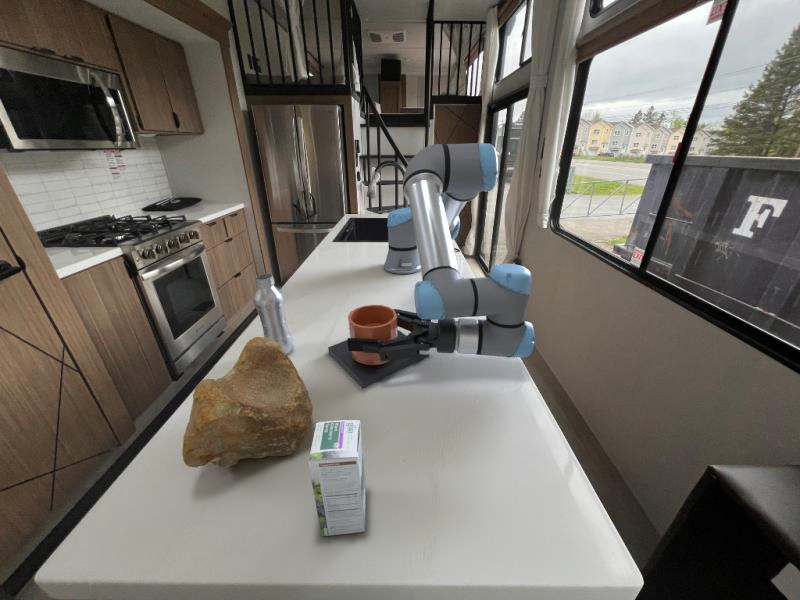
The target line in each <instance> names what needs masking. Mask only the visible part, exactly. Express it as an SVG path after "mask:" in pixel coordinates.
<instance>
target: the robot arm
mask: <svg viewBox="0 0 800 600" xmlns="http://www.w3.org/2000/svg"><path fill="white" fill-rule="evenodd" d="M405 168H406V169H405V171H404V174H403V178H402V189H403V196H404V198H405V200H406V201H407V202H408V203H409V206H408V207H407V206H406V207H401V208H397V209H393V210H392V211H390V212H389V213H388V215H387V224H386V225H387V241H388V243H387V245H388V249H387V250H388V251H387V254H386V258H385V261H384V270H385V271H387V272H388V273H391V274H396V275H409V274H415V273H417V272H420V274H421V281H417V282H416V283H415V285H414V293H413V295H414V296H413V298H414V307H415V312H413V311H408V310H403V309H399V308H394V309H393V308H392V309H393V310H395V312H396V314H397V326H398V328H400V329H404V330H406V331H408V332H409V333H408V334H407V335H406V336H404V337H400V338H396V339H392V340H388V341H384V342H382V341H381V340H377V339H359V338H350V337H348V338H347V339H346V340H347V342H348V351H359V352H365V353H377V354H379V355H380V360H381V361H390V360H398V359H406V358H414V357H423V358H424V359H428V358H430V349H436V352H437V353H439V354H454V353H455V351H456V353H457V354H458V355H459V354H461V355H476V356H488V357H489V356H490V357H499V358H501V357H502V358H509V359H510V358H527V357H529V356H531V355H532V353H533V351H534V348H535V337H536V336H535V329H534V325H533V324H532V323H531V322H529V321H526V313H527V308H528V303H529V299H530V295H531V288H532V287H531V286H532V272H531V271H530V270H529V269H528V268H526V267H525V266H522V265H519V264H515V263H499V264H496V265H494V266H493V267H492V268H491V270H490V273H489V276H488V277H487V276H486V277H471V278H470V277H469V278H461V275H460V270H459V266H458V262H457V257H456V253H455V251H456V252H461V250H460V249H458V247H457V248H456V247H454V245H453V240H455V239H456V238H457V237H458V234H459V231H460V226H461V225H460V224H461V221H460V213H461V212H462V210H463V209H464V207H465V206H466V204H467V202H470V201H472V200H474V199H475V198H477V196H478V195H479V194H480V193H481V192H485V193H487V192H491V191H493V190H494V189H495V187H496V184H497V181H498V171H499V161H498V153H497V149H496V148H495V146H494V145H493V144H491V143H483V142H476V143H474V142H472V143H435V144H431V145H428V146H425V147H424V148H423V149H420V150H419V151H418V152H417V153H416V154H415V155H414V156H413V157H412V158H411V159H410V161H409V162H408V164H407V166H406V167H405ZM474 317H475V318H474ZM477 317H485V318H486V319H478V318H477ZM456 319H457V320H456ZM433 320H434V321H437V322H433ZM386 354H387V355H386Z"/></svg>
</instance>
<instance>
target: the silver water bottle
mask: <svg viewBox="0 0 800 600" xmlns="http://www.w3.org/2000/svg"><path fill="white" fill-rule="evenodd" d="M254 280H255V285H256V288H257V289H256V292H255V293H254V295H253V300H252V301H253V305H254V307H255V309H256V312H257V314H258V316H259V321H260V323H261V326H262V331H263V332H262V333H263V337H264V338H269V339H270V340H272V341H274V342H277V343H278V344H279V345H280V346H281V347H282V349H283V350H284V352H285V353H286V355H287V354H289V353H290V352H291V351H292V349H293V348H294V338H293V337H292V334H291V332H290V329H289V326H288V323H287V319H286V311H285V297H284V294H283V292H282V291H281V290H280V289H279V288H278V287H277V286H276V285H275V284H276V281H275V277H274V275H273V274H272V273H263V274H260V275H257V276H255V279H254Z"/></svg>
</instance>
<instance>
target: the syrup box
mask: <svg viewBox="0 0 800 600" xmlns="http://www.w3.org/2000/svg"><path fill="white" fill-rule="evenodd" d="M361 426H362V425H361V420H359V419H345V420H344V419H340V420H337V419H336V420H327V421H319V422H316V423H315V428H314V433H313V438H312V443H311V447H310V452H309V456H308V457H309V458H308V461H307V462H308V463H307V464H308V469H309V474H310V481H311V486H312V492H313V496H314V497H313V498H314V502H315V503H314V504H315V508H316V512H317V517H318V518H317V519H318V523H319V529H320V535H321V536H322V537H329V536H338V535H349V534H357V533H365V531H366V499H367V498H366V491H367V490H366V487H367V486H366V473H365V463H364V461H365V460H364V451H363V450H364V449H363V440H362V439H363V438H362V427H361Z"/></svg>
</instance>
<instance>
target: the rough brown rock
mask: <svg viewBox="0 0 800 600" xmlns="http://www.w3.org/2000/svg"><path fill="white" fill-rule="evenodd" d="M299 374H300V373H299V372H298V370H297V368H296V366H295V364H294V363H293V361H292V360H291V358H289V356H288V355H287V354H286V353H285V352H284V350H283V349H282V347H281V346H280V345H279V344H278V343H277V342H274V341H272V340H270V339H269V338H264V336H254V337H253V338H251V339H249V340H248V341H247V342H246V343H245V345H244V346H243V349H242V350H241V353H240V354H239V357H238V360H237V362H236V363H235V364H234V365H233V367H232V368H231V370H229V371H228V372H227V373H226V374H225V375H223V376H222V377H219V378H216V379H213V378H206V379H204V380H202V381H200V382H199V383H198V384H197V385H196V386H195V388H194V390H193V394H192V405H191V408H190V414H189V420H188V422H187V425H186V428H185V432H184V435H183V440H182V449H181V450H182V451H181V452H182V459H183V462H184V464H185V465H186V466H187V467H189V468H194V469H195V468H199V467H203V466H206V465H208V464H209V463H211V464H213V465H216V466H218V468H220V469H222V470H224V469H227V468H229V467H231V466H234V465H237V464H238V463H239V462H240V460H245V459H250V458H253V459H262V458H265V457H266V456H267V457H268V456H269V457H284V456H285V457H286V456H291V455H292V454H293V453H294V452H296V450H297V449H298V448H299V446H300V445H301V444H302V443H301V442H302V439H303V437H304V436H305V435H306V434H307V431H308V430H309V428H310V427H311V425H312V420H313V419H312V418H313V403H312V400H311V396H310V393H309V391H308V390H307V388H306V385H305V383H304V381H303V379H302V377H301V376H300V375H299Z"/></svg>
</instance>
